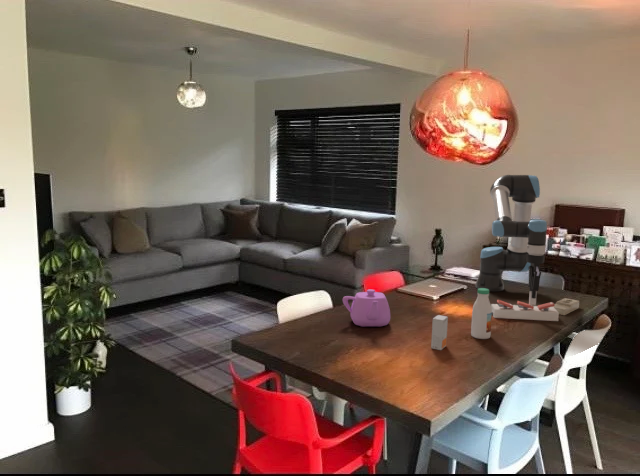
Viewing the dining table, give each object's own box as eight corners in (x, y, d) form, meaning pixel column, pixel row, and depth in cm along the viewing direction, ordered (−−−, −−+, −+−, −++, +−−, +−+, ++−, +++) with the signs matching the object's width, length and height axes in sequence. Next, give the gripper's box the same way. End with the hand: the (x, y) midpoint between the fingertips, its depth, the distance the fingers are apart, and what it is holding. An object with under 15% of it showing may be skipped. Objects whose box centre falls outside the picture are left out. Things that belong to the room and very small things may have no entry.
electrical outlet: (549, 304, 253) (564, 297, 265) (549, 312, 253) (564, 305, 266) (565, 307, 247) (579, 300, 260) (564, 316, 248) (578, 308, 261)
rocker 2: (516, 302, 245) (517, 300, 245) (531, 307, 244) (532, 304, 244) (518, 304, 242) (519, 302, 242) (533, 309, 241) (534, 306, 241)
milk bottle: (480, 340, 212) (483, 292, 209) (466, 334, 219) (469, 288, 216) (494, 337, 216) (497, 290, 213) (480, 332, 223) (483, 286, 220)
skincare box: (441, 350, 201) (443, 320, 199) (430, 348, 203) (432, 318, 201) (446, 346, 206) (448, 316, 204) (436, 343, 208) (437, 314, 206)
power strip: (475, 311, 253) (476, 300, 252) (552, 315, 248) (553, 304, 247) (478, 316, 244) (479, 306, 243) (558, 321, 239) (559, 310, 238)
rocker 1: (496, 301, 246) (497, 299, 246) (510, 306, 246) (511, 304, 246) (498, 303, 243) (499, 301, 243) (512, 308, 242) (513, 306, 242)
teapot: (340, 317, 241) (341, 285, 239) (386, 317, 242) (387, 285, 239) (344, 334, 219) (345, 298, 216) (395, 334, 219) (396, 298, 217)
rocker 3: (537, 307, 244) (537, 305, 244) (552, 304, 243) (552, 301, 243) (539, 309, 241) (538, 307, 241) (554, 306, 239) (554, 303, 239)
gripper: (523, 251, 246) (520, 300, 249) (530, 256, 233) (527, 308, 237) (540, 251, 245) (537, 301, 248) (548, 256, 232) (544, 308, 235)
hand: (532, 304), depth 242 cm, fingers closed
